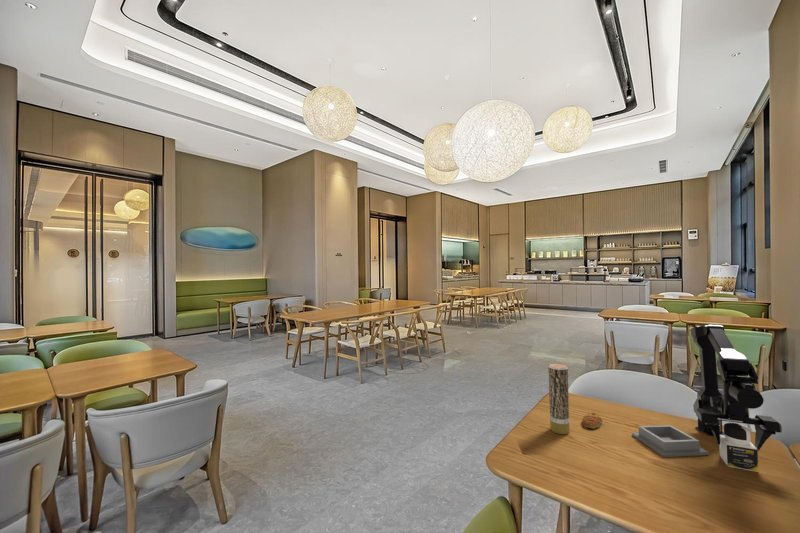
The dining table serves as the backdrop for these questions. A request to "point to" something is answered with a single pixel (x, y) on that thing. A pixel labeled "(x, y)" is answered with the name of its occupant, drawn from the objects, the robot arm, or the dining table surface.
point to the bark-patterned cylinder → (559, 398)
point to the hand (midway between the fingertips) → (737, 446)
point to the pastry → (592, 420)
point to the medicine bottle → (738, 447)
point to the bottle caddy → (669, 441)
